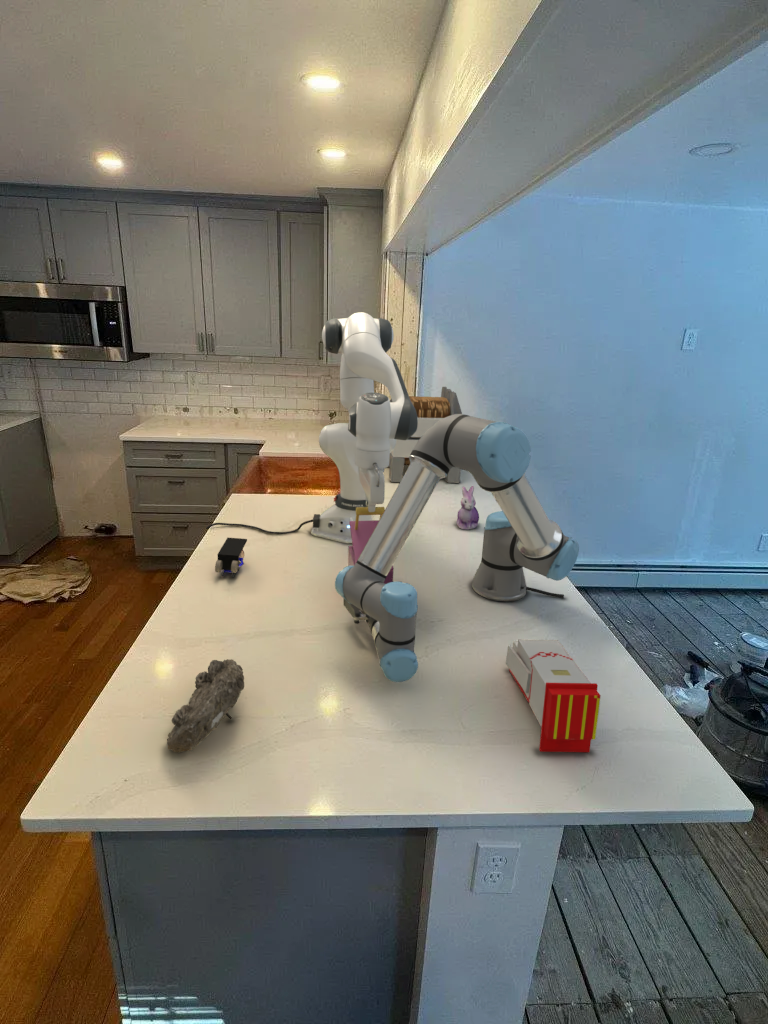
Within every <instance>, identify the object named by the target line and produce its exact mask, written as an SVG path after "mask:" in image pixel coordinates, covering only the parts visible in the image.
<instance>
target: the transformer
mask: <svg viewBox="0 0 768 1024" xmlns="http://www.w3.org/2000/svg"><path fill="white" fill-rule="evenodd" d="M440 393H441V394H440V396H415V395H414V396H413V395H412V396H411V395H409V398H410V400H411V402H412V404H413V406H414V407H415V410H416V413H417V417H418V425H417V430H416V432H415V433H414V434H413V435H412V436H411V437H410V438H408V439H407V440H397V441H396V445H395V448H394V449H393V451H392V452H391V453H390V459H389V466H388V467H387V468H389V475H388V476H389V477H388V478H389V480H390V482H391V483H400V482H401V480H402V478H403V476H404V469H405V466H406V467H407V466H408V467H409V465H410V460H409V456H410V454H411V452H412V450H413V448H414V447H415V445H416V444H417V442H418V441H419V439H420V438H421V437H422V436H423V435H424V434H425V432H426V431H427V430H428V429H429V428H431V427H432V426H433V425H434V424H435V423H437V422H438V421H440V420H441V419H443V418H445V417H448V416H450V415H455V414H463V411H462V408H461V405H460V402H459V398H458V395H457V392H455V391H453V390H452V389H451V388H447V386H442V387H441V392H440ZM389 400H390V402H392V399H391V398H390V399H389ZM461 472H462V469H459V468H456V467H453V468H451V469H450V471H449V473H448V474H447V476H446V477H445V478H444V479H445V481H446V482H447V483H449V484H455V483H456V484H459V483H461Z"/></svg>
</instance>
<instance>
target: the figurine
mask: <svg viewBox="0 0 768 1024" xmlns="http://www.w3.org/2000/svg"><path fill="white" fill-rule="evenodd" d="M474 490H475V486H474V485H471V487H469V490H467V488H466V487H465V486H462V487H461V491H462V497H461V500H460V505H461V508H460V509H458V510H457V515H456V516H457V519H456V526H458V528H459V529H461V530H473V529H475V528H477V527H478V525H479V521H480V514H479V511H478V509H477V507H476V504H477V502H476V499H475V496H474V492H475V491H474Z"/></svg>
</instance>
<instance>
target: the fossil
mask: <svg viewBox="0 0 768 1024" xmlns="http://www.w3.org/2000/svg"><path fill="white" fill-rule="evenodd" d="M243 670H244V669H243V667H242V665H240V664H237V662H236V661H235V660H234V659H232V658H231V659H227V658H226V659H224V660H223V661H222V660H217V659H212V660H211V661H210V663H209V665H208V666H207V671H201V672H199V673H198V674H197V675H196V676H195V680H194V684H195V685H194V687H195V689H194V690H193V693H192V694H191V697H190V698H189V700H188V704H184V705H182V706H181V707H180V709H177V710H176V711H175V713H174V715H173V716H172V718H171V723H172V724H173V727H172V730H171V731H170V732H168V734H167V738H166V741H167V742H166V745H167V749H168V750H169V751H173V752H174V753H176V754H178V753H182V752H188V751H189V752H192V751H193V750H195V748H196V747H197V746H199V744H200V743H201V742H203V741H204V740H205V739H206V738H207V737H208V736H209V735H210V734H211V733H212V732H214V730H215V729H217V727H218V726H219V724H220V722H221V721H222V720H223V719H224V718H225V716H226V717H227V719H229V720H233V717H232V715H230V714H229V710H230V709H231V708H234V706H235V704H236V703H237V702H238V699H239V697H240V695H241V693H242V691H243V690H245V689H244V688H245V675H244V671H243Z"/></svg>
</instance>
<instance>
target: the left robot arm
mask: <svg viewBox="0 0 768 1024" xmlns="http://www.w3.org/2000/svg"><path fill="white" fill-rule="evenodd" d="M394 337H395V335H394V328H393V327H392V323H391V322H390V321H389V320H388V319H386V318H381V317H378V318H376V317H375V318H374V317H373V316H372V315H371V314H369V313H367V312H362V311H359V312H354V313H352V314H350V315H349V316H348V317H342V318H337V317H333V318H330V319H327V320H326V321H325V322H324V326H323V328H322V331H321V340H322V344H323V346H324V348H325V350H326V351H327V352H328V353H331V354H335V355H338V354H341V357H340V363H339V394H340V395H339V397H340V398H339V400H340V404H341V406H342V407H343V408H344V409H345V410H347V412H348V422H337V423H331V424H327V425H325V426H324V427H322V429H321V430H320V432H319V435H318V444H319V447H320V450H321V451H322V452H323V454H325V455H326V456H327V457H329V458H330V459H331V460H332V462H333V463H334V464H335V466H336V467H337V470H338V474H339V483H340V484H339V485H340V488H339V489H340V490H339V491H338V492H337V494H336V495H335V496H334V497H333V502H334V504H333V505H331V506H329V507H328V508H326V509H325V510H323V512H321V514H320V513H315V514H313V518H312V519H310V520H306V521H304V522H303V521H302V523H300V524H299V525H298V527H297V528H296V529H293V530H291V531H271V530H266V529H263V528H261V527H257V526H255V525H249V524H243V523H227V522H213V523H211V524H209V525H208V526H206V528H205V530H208V529H210V528H211V527H214V526H228V527H229V526H231V527H245V528H251V529H254V530H258V531H260V532H262V533H266V534H270V535H271V534H273V535H286V534H292V533H296V532H298V531H300V530H301V528H302V527H303V526H304V525H306V524H309V523H312V528H311V530H310V533H311V536H315V537H319V538H323V539H326V540H330V541H336V542H339V543H343V544H352V538H351V532H350V525H349V522H350V521H356V507H368V511H369V512H375V507H377V506H376V505H384V503H385V496H386V495H385V492H386V490H385V489H386V488H385V487H386V485H385V483H386V479H385V475H384V474H385V473H384V472H385V469H386V468H389V467H388V466H389V459H390V453H391V452H392V451H393V449H394V448H395V445H396V441H397V440H407V439H408V438H410V437H411V436H412V435H413V434H414V433H415V432H416V430H417V425H418V417H417V413H416V410H415V407H414V406H413V404H412V402H411V400H410V398H409V396H410V395H409V392H408V390H407V387H406V384H405V381H404V379H403V374H402V373H401V370H400V368H399V365H398V364H397V361H396V360H395V359H394V358H392V357H391V356H390V355H388V353H387V352H388V351H390V350H391V348H392V345H393V342H394ZM374 382H376V383H380V384H381V385H383V386H385V388H387V390H388V392H389V396H390V398H389V396H387V395H386V394H383V393H380V392H375V385H374ZM391 399H392V402H390V400H391ZM359 521H374V515H359Z"/></svg>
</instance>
